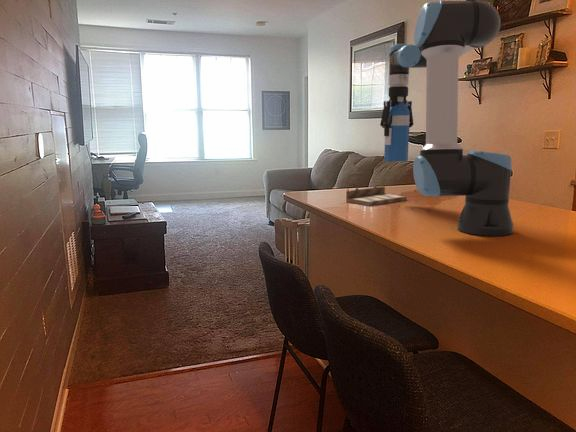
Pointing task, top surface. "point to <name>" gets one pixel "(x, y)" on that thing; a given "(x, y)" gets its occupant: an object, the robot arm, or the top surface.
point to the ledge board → (372, 196)
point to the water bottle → (398, 133)
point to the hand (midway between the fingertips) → (396, 144)
